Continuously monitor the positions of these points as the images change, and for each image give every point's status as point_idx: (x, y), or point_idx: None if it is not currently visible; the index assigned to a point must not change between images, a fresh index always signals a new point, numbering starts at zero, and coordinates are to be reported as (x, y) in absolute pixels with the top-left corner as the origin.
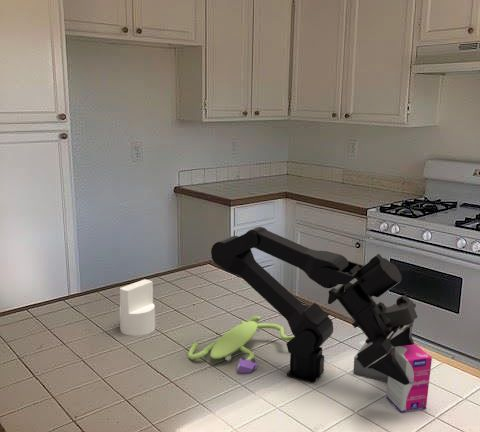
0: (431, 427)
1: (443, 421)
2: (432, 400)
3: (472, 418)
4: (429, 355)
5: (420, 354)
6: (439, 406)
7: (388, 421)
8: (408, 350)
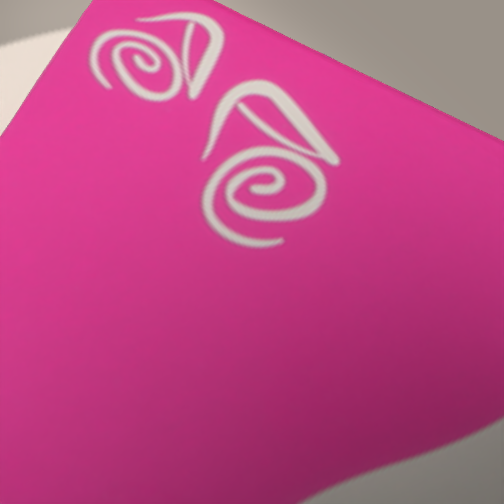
0: None
1: None
2: None
3: (45, 47)
4: (96, 6)
5: (218, 151)
6: None
7: None
8: (290, 459)
